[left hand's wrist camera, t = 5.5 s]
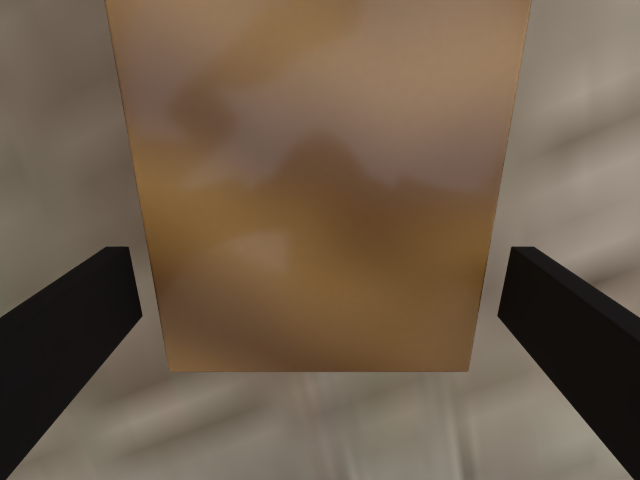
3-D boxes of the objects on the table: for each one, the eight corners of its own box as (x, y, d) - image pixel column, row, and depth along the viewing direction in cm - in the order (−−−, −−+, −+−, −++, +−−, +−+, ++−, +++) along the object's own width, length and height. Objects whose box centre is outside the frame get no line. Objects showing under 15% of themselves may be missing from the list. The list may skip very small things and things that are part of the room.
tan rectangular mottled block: (207, -54, 18) (53, -280, 8) (430, -54, 18) (581, -280, 8) (234, 257, 24) (168, 373, 13) (403, 257, 24) (469, 372, 13)
